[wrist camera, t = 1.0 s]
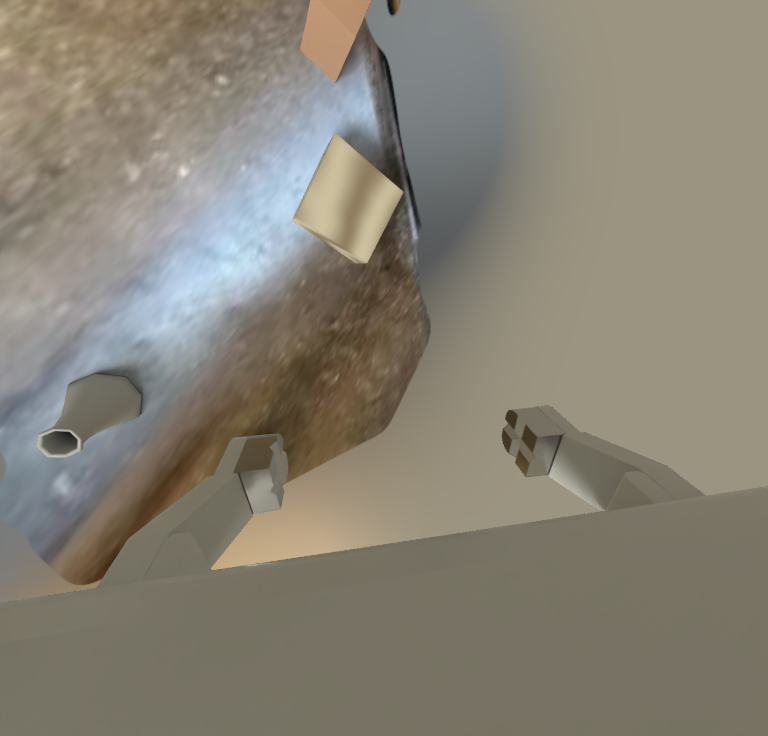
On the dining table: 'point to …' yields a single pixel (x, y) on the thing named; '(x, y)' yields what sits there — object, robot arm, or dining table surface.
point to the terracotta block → (332, 32)
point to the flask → (90, 413)
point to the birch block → (347, 202)
